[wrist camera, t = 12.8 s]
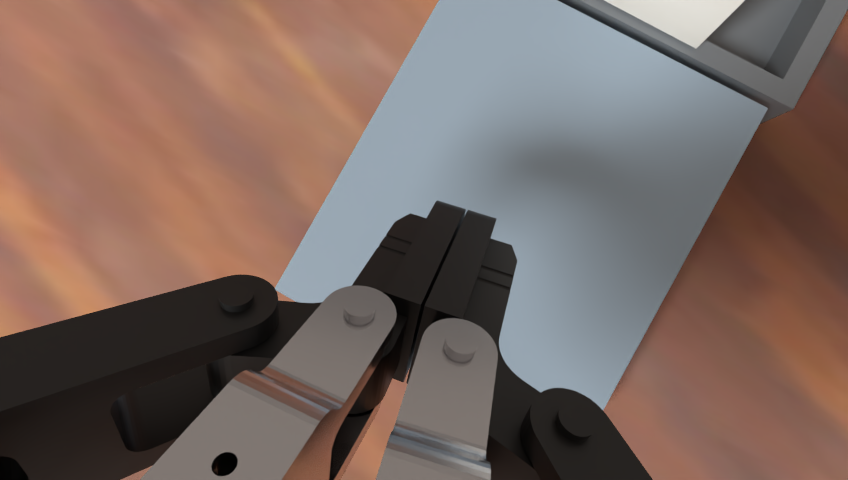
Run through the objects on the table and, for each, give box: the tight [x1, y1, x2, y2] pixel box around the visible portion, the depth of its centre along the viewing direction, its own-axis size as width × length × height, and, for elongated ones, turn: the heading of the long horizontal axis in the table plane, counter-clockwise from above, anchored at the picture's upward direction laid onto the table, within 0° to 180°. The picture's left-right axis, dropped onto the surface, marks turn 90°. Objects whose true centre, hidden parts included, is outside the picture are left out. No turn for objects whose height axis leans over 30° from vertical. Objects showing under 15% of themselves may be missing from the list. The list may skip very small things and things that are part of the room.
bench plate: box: [275, 0, 768, 410], centre depth 18 cm, size 12×14×3 cm
